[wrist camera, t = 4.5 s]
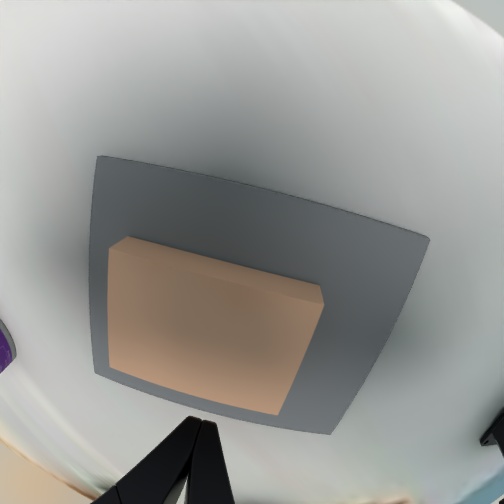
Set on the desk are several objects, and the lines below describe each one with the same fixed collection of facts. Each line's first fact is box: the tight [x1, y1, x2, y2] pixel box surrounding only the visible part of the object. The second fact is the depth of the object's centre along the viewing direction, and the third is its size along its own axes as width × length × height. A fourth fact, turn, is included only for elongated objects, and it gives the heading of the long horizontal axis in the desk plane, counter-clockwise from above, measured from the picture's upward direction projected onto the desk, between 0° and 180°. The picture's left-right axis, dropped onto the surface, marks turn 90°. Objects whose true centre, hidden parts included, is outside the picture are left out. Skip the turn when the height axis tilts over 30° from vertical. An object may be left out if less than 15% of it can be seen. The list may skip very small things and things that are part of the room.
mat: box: [89, 156, 430, 435], centre depth 13 cm, size 14×12×1 cm
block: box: [107, 236, 324, 415], centre depth 12 cm, size 2×6×8 cm
